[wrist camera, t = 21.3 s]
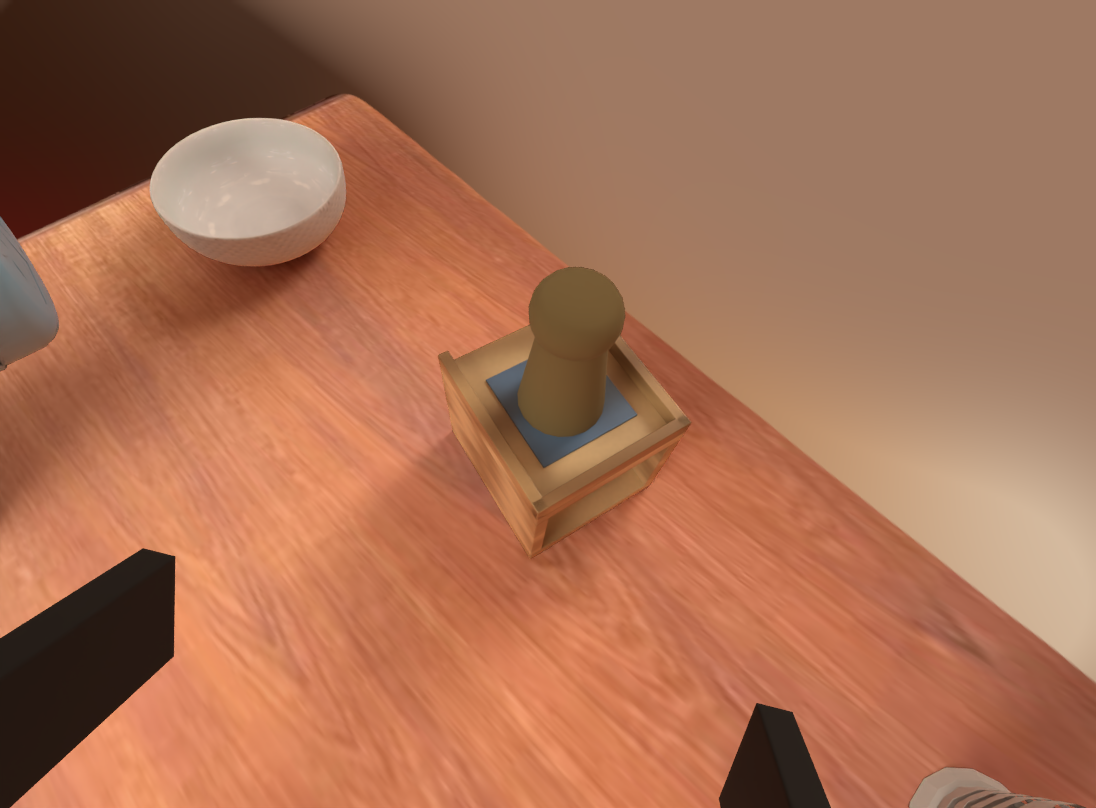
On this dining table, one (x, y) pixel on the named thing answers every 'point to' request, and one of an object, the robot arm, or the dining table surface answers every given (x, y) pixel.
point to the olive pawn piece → (569, 350)
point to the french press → (972, 792)
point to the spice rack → (558, 440)
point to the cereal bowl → (251, 191)
